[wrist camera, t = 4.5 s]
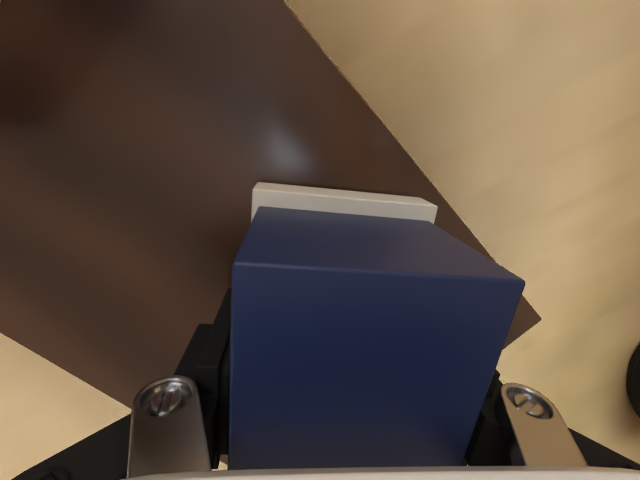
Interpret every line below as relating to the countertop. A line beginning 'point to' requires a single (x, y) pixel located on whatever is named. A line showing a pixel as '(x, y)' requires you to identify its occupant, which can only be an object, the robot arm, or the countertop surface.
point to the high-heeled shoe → (634, 381)
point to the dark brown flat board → (164, 169)
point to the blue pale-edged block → (359, 333)
